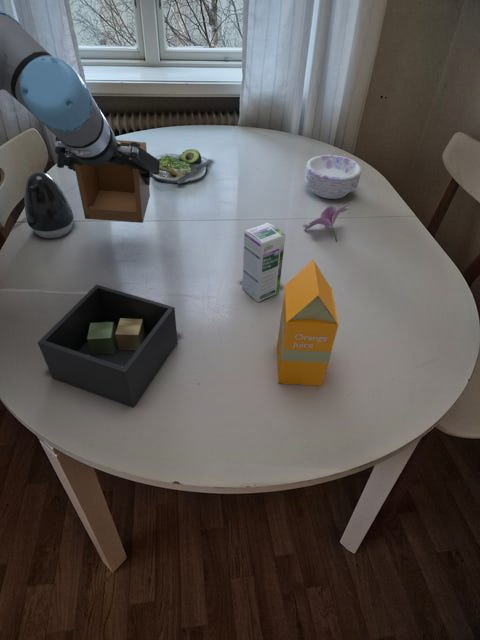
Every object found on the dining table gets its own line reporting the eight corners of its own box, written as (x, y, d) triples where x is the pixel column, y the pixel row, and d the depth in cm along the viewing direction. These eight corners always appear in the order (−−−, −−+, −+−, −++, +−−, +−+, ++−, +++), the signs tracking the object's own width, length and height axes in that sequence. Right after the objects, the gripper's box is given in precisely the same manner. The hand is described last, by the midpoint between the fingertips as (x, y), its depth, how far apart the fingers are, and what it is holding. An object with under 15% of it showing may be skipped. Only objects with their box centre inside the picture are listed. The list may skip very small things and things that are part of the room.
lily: (351, 230, 112) (343, 194, 109) (364, 238, 101) (355, 197, 98) (306, 244, 113) (297, 208, 110) (314, 253, 102) (304, 214, 99)
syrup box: (258, 303, 88) (263, 243, 78) (240, 288, 91) (243, 228, 81) (279, 293, 91) (287, 234, 81) (261, 279, 94) (267, 220, 84)
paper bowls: (301, 201, 120) (305, 173, 115) (304, 177, 131) (308, 151, 126) (356, 207, 119) (362, 180, 113) (355, 183, 130) (361, 157, 124)
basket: (52, 378, 72) (37, 342, 66) (105, 319, 83) (96, 284, 77) (133, 407, 69) (125, 372, 63) (177, 342, 79) (174, 306, 73)
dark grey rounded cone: (26, 245, 100) (4, 183, 90) (40, 221, 108) (21, 162, 97) (70, 245, 101) (54, 184, 90) (81, 222, 108) (66, 163, 98)
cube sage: (86, 339, 73) (90, 322, 75) (91, 354, 75) (94, 338, 78) (110, 337, 73) (113, 321, 76) (114, 353, 76) (117, 337, 79)
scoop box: (85, 218, 87) (73, 163, 78) (96, 191, 94) (87, 137, 86) (142, 222, 88) (137, 168, 79) (149, 195, 95) (146, 142, 86)
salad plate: (206, 190, 123) (206, 174, 120) (144, 186, 123) (142, 171, 120) (213, 162, 137) (212, 147, 134) (157, 158, 137) (156, 144, 134)
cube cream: (115, 334, 74) (120, 318, 77) (118, 349, 76) (123, 333, 79) (138, 334, 74) (142, 318, 77) (141, 350, 76) (145, 334, 79)
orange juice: (318, 348, 79) (338, 259, 66) (322, 386, 73) (347, 296, 59) (275, 346, 80) (287, 256, 66) (277, 383, 73) (290, 293, 59)
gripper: (7, 153, 66) (58, 190, 88) (162, 164, 68) (175, 198, 90) (8, 103, 66) (59, 153, 88) (165, 116, 68) (177, 162, 89)
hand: (118, 176), depth 89 cm, fingers closed on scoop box, 12 cm apart
